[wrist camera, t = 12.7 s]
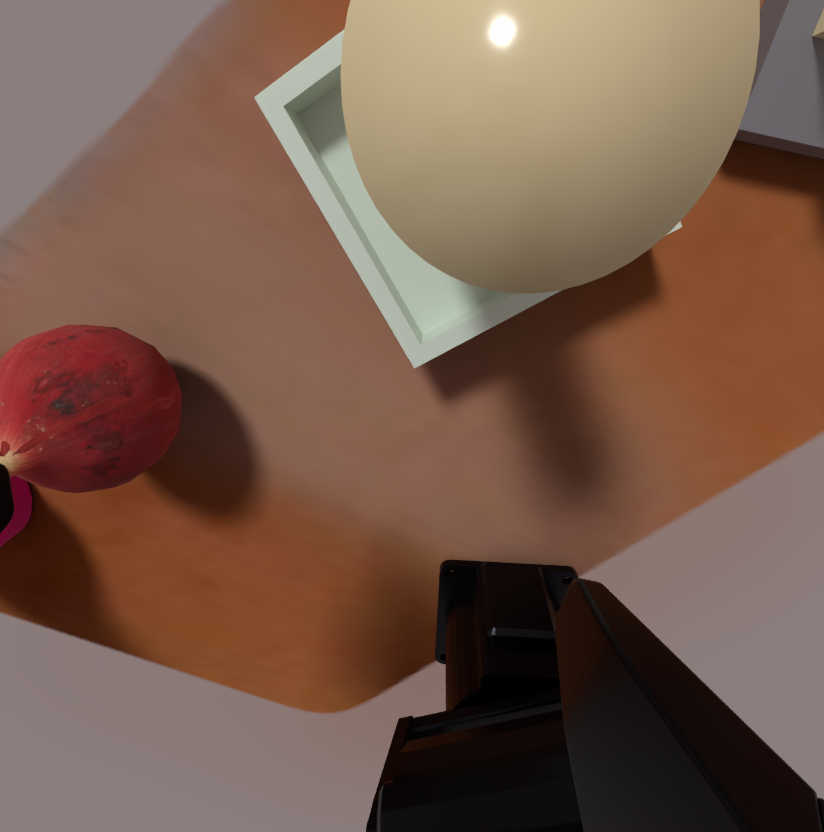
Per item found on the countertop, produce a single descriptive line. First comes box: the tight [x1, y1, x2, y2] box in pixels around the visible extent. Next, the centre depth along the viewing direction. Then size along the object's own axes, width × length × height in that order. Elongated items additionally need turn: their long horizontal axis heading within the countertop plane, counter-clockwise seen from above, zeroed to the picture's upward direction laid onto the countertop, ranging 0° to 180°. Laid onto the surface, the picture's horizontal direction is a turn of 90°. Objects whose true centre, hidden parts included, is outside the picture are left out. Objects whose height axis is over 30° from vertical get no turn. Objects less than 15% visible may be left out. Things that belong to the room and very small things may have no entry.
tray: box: [254, 29, 682, 368], centre depth 16 cm, size 9×9×3 cm
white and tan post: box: [340, 0, 760, 294], centre depth 10 cm, size 4×4×12 cm
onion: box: [0, 325, 182, 493], centre depth 17 cm, size 6×6×8 cm
